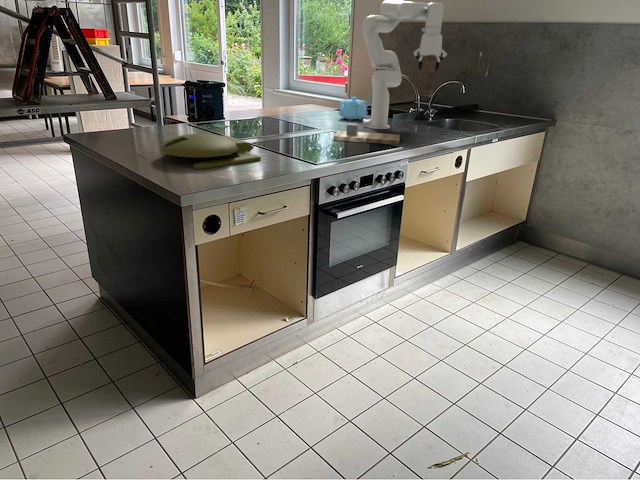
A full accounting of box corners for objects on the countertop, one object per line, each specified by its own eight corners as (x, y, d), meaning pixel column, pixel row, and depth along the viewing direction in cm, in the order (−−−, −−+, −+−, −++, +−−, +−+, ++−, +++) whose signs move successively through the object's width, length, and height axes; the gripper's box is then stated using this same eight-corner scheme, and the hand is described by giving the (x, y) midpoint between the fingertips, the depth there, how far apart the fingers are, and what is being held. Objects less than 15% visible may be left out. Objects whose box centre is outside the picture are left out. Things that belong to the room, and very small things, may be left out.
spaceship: (225, 148, 216) (224, 125, 213) (263, 161, 195) (263, 137, 191) (148, 157, 195) (146, 132, 192) (182, 174, 174) (179, 146, 170)
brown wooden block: (423, 97, 240) (428, 54, 232) (414, 96, 246) (419, 53, 238) (435, 97, 243) (441, 55, 236) (426, 95, 249) (431, 54, 241)
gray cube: (346, 134, 243) (346, 124, 241) (347, 133, 247) (348, 123, 245) (356, 135, 242) (356, 125, 240) (357, 133, 246) (357, 123, 244)
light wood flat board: (333, 140, 239) (333, 136, 238) (338, 134, 254) (338, 130, 253) (398, 144, 234) (399, 140, 234) (399, 138, 249) (400, 134, 248)
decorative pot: (344, 122, 293) (345, 99, 288) (332, 117, 309) (333, 95, 304) (373, 121, 300) (375, 98, 294) (360, 116, 316) (361, 95, 311)
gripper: (414, 30, 231) (410, 69, 237) (451, 31, 228) (446, 71, 235) (414, 30, 237) (410, 69, 244) (450, 32, 235) (445, 70, 242)
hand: (428, 70), depth 240 cm, fingers closed on brown wooden block, 7 cm apart
